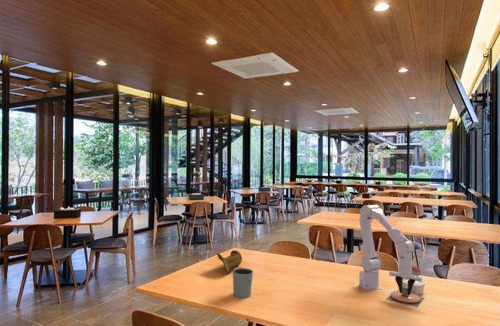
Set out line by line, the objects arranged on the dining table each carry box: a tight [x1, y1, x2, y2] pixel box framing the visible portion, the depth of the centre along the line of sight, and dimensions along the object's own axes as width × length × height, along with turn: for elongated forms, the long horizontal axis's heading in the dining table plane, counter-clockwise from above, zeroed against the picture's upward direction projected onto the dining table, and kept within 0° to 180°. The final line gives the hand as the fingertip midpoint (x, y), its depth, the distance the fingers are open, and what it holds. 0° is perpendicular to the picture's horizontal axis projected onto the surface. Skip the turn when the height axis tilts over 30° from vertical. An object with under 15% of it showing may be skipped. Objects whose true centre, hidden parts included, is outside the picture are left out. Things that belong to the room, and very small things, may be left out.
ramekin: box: [402, 278, 426, 295], centre depth 171 cm, size 11×11×5 cm
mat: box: [386, 294, 425, 308], centre depth 160 cm, size 14×14×1 cm
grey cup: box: [232, 267, 254, 299], centre depth 163 cm, size 10×10×12 cm
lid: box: [390, 287, 420, 303], centre depth 160 cm, size 13×13×5 cm
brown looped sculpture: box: [216, 249, 243, 275], centre depth 204 cm, size 18×13×22 cm
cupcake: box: [412, 258, 422, 277], centre depth 193 cm, size 9×8×12 cm
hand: (405, 293), depth 160 cm, fingers closed on lid, 3 cm apart
